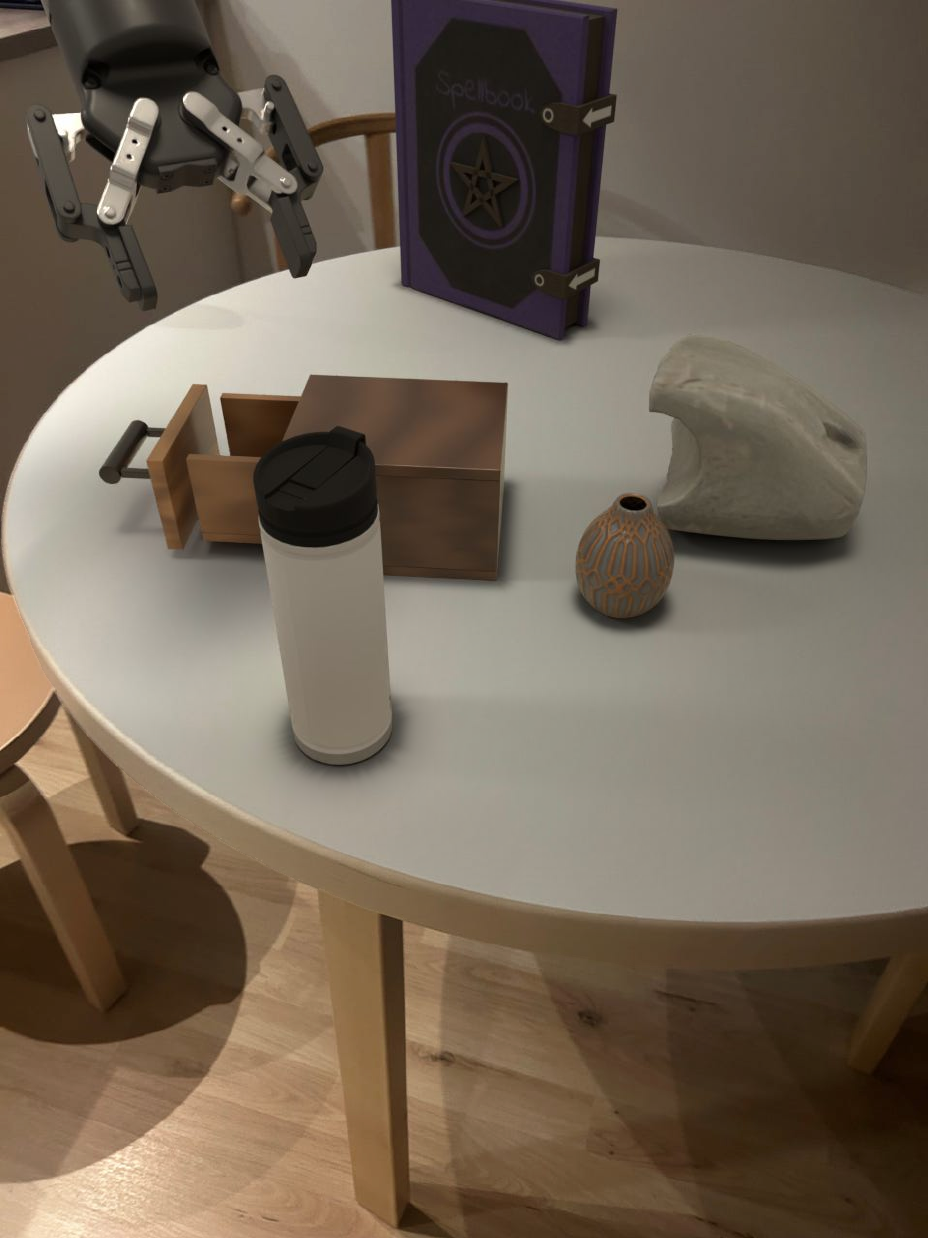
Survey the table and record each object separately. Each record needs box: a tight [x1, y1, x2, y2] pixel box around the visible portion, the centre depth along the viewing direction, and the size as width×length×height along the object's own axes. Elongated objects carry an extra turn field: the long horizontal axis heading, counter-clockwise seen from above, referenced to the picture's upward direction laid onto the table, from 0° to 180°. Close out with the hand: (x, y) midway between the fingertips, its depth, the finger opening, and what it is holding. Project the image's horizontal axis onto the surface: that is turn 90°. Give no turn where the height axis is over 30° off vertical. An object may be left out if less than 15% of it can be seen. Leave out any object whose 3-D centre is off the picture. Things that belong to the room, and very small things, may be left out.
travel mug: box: [253, 426, 393, 766], centre depth 54 cm, size 6×7×20 cm
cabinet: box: [283, 374, 509, 582], centre depth 74 cm, size 16×13×10 cm
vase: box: [575, 492, 675, 619], centre depth 68 cm, size 7×7×9 cm
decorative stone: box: [648, 333, 868, 541], centre depth 73 cm, size 12×17×15 cm
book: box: [390, 0, 618, 342], centre depth 100 cm, size 24×6×30 cm, turn 50°
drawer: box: [98, 383, 301, 551], centre depth 75 cm, size 20×12×8 cm, turn 86°
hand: (228, 287), depth 51 cm, fingers open, 8 cm apart
